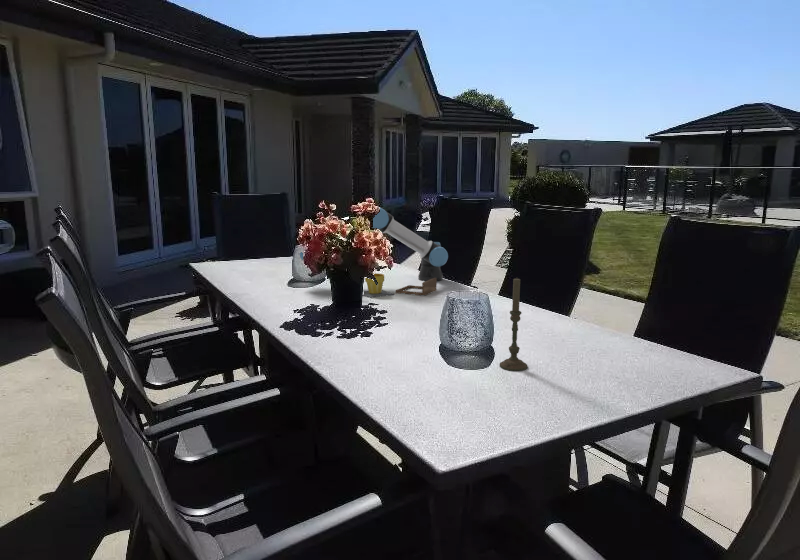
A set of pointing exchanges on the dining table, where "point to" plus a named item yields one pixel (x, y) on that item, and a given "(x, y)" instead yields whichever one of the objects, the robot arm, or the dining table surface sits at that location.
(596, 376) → the dining table surface
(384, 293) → the mat
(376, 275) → the plant pot
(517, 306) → the candlestick holder
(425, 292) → the dock
